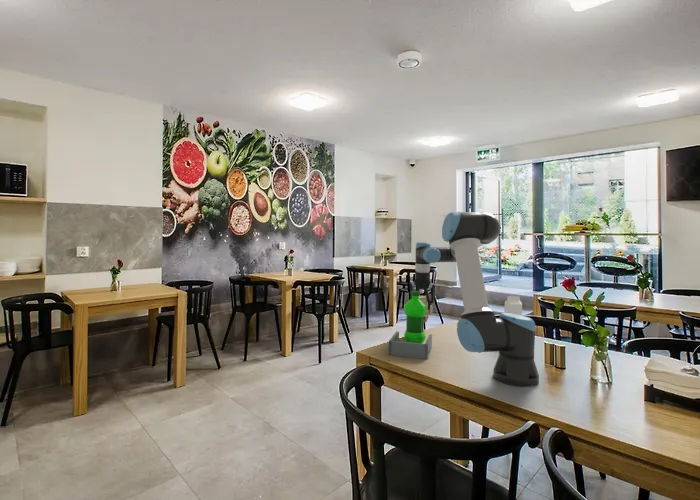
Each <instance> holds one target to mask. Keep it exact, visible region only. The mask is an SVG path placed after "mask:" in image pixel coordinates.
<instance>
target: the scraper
mask: <svg viewBox="0 0 700 500" xmlns="http://www.w3.org/2000/svg"><path fill="white" fill-rule="evenodd" d="M419 300H421V301H422V302H423V303H424V305H425V306H426V304H427V303H428V302H427V298H426V295H420V296H419ZM432 312H433V305H432V304H430V310H428V312H426V314H425V315H424V323H423V324H426V323H427V321H428V319H429V317H430V316H431V313H432Z"/></svg>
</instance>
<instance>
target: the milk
mask: <svg viewBox="0 0 700 500" xmlns="http://www.w3.org/2000/svg"><path fill="white" fill-rule="evenodd" d="M503 309H504V310H503V311H504V312H503V313H512V314H517V315H522V316H523V303H522V301H521V298H520V296H519V295H517V296H514V295H513V296H511V295H509V296H507V297H506V300H505V301H504V308H503Z"/></svg>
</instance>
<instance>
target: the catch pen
mask: <svg viewBox="0 0 700 500" xmlns="http://www.w3.org/2000/svg"><path fill="white" fill-rule="evenodd" d="M432 347H433V335H432V334H429V335H428V336H427V339H426V341H425V343H422V344H421V343H412V342H407V341H402V340H400V332H399V331H395V332H394V334H393V335H392V337H391V338H390V339H389V340H388V355H389V356H395V355H396V356H397V357H398V356H399V357H406V358H412V359H413V358H415V359H421V360H422V359H423V360H428V358H429V356H430V354H431V352H432V351H431V350H432Z"/></svg>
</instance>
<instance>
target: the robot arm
mask: <svg viewBox="0 0 700 500" xmlns="http://www.w3.org/2000/svg"><path fill="white" fill-rule="evenodd" d="M441 226H442V228H441V237H442V240H443V241H444V242H449V243H448V245H449V246H448V247H447V246H443V247H442V246H441V247H440V246H437V247H436V246H431V243H430V242H425V241H422V242H421V241H420V242H419V241H418V242H416V243H415V248H414V249H415V250H414V251H415V263H414V264H415V266H414V267H415V269H414V270H415V273H414V276H415V277H414V281H412V282H409V283H408V285H409V289H410V290H409V300H411V299H412V296H411V291H414V286H415V287H416V290H415V291H420V290H424V293H425V296H426V298H427V302H428V303H427V304H426V308H427V311H426V312H428V310H430V305H432V304H434V302H435V287H436V283H432V282H431V280H430V277H431V276H430V275H431V273H430V271H431V264H435V263H456V268H457V273H458V274H457V275H458V281H459V286H460V292H461V298H462V304H463V309H464V310H463V312H462V313H461V315H460V318H461V319H459V320H458V321H457V323H456V333H457V338H458V340H459V343H460V345H461V346H462V347H463V349H464V350H465V351H467V352H470V353H478V354H480V353H491V352H498V356H497V360H496V362H495V363H494V366H493V377H494V379H496V380H497V381H499V382H501V383H504V384H506V385H510V386H514V387H515V386H516V387H533V386H534V387H535V386H537V385H538V384H539V383H540V375H539V372H538V368H537V365H536V361H535V345H536V344H535V343H536V342H535V340H536V338H535V337H536V332H537V331H536V322H535V320H533V319H532V318H531V317H528V316H527V315H526V316H525V315H523V314H522V315H517V314H512V313H504V312H501V313H500V315H499V317H496V314H495V311H494V310H493V309H491V308H490V306H489V301H488V297H487V291H486V286H485V280H484V275H483V270H482V265H481V259H480V255H479V249H478V248H480V247H482V246H483V245H488V244H491V243H492V242H494V241H495V240H496V239H497V238H498V237H499V235H500V232H501V225H500V221H499V220H498V219H497V217H495V215H494V214H491V213H488V212H483V211H482V212H480V211H479V212H476V211H475V212H473V211H452V212H448V214H446V215H445V217H444V219H443V223H442V225H441ZM429 286H430V288H431V289H430V291H431V292H430V294H429V289H428V288H429ZM430 295H431V296H430ZM430 298H431V299H430Z"/></svg>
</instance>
